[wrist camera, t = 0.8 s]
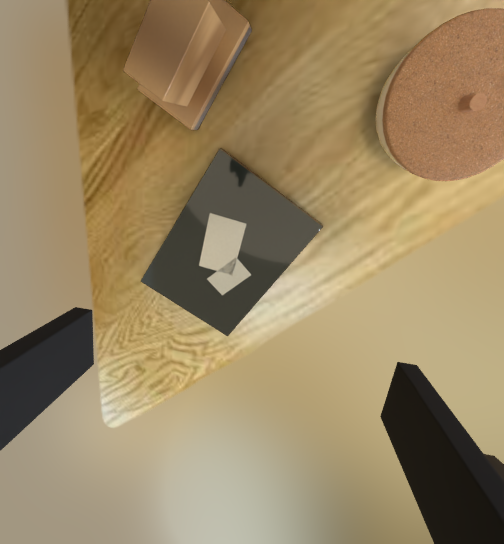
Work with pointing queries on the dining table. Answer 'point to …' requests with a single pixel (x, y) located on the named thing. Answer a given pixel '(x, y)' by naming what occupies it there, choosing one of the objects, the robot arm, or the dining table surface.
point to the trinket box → (448, 100)
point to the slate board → (229, 244)
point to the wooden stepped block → (186, 54)
